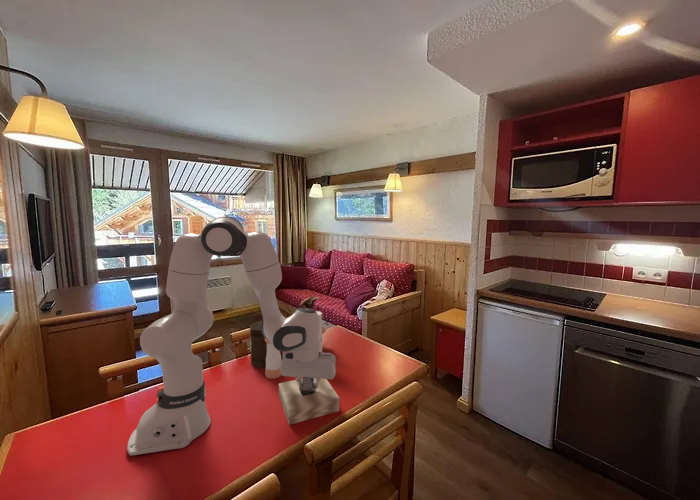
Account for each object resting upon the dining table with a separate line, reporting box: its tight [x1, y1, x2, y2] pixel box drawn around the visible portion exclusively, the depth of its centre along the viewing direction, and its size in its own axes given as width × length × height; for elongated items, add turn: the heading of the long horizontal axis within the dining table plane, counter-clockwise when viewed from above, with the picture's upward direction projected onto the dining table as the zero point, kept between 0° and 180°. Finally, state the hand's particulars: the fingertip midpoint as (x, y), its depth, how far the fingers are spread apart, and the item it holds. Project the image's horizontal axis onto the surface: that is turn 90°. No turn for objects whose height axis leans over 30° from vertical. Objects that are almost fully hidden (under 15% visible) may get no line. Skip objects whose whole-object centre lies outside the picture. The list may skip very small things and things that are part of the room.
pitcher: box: [299, 296, 327, 335], centre depth 153 cm, size 18×17×28 cm
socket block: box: [278, 377, 340, 426], centre depth 110 cm, size 18×18×5 cm
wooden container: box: [249, 320, 284, 369], centre depth 142 cm, size 15×15×22 cm
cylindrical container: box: [315, 310, 323, 352], centre depth 138 cm, size 7×7×25 cm
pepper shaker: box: [264, 338, 282, 380], centre depth 130 cm, size 7×7×19 cm
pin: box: [302, 377, 314, 396], centre depth 109 cm, size 4×4×10 cm
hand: (308, 387), depth 109 cm, fingers closed on pin, 4 cm apart
